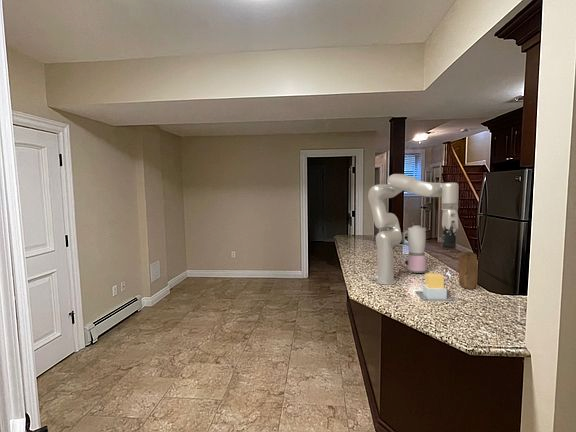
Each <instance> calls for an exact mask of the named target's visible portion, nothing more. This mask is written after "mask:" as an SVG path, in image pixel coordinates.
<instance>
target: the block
mask: <svg viewBox="0 0 576 432" xmlns="http://www.w3.org/2000/svg"><path fill="white" fill-rule="evenodd" d="M477 256H478V255H477V254H476V253H475V252H473V251H462V252H460V253H459V257H458V263H457V265H458V266H457V267H458V283H459V286H460V287H461V288H463V289H465V290H466V289H467V290H474V289H476V288H477V285H478V257H477Z"/></svg>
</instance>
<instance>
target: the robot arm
mask: <svg viewBox="0 0 576 432" xmlns="http://www.w3.org/2000/svg"><path fill="white" fill-rule="evenodd" d="M386 182H387V184H384V183H383V184H382V183H381V184H380V183H379V184H375V185H373V186H371V188H369V190H368V194H367V199H368V203H369V206H370V209H371V214H372V218H373V222H374V223H373V224H374V225H375V228H377V230H378V229H379V230H382V231H379V232H378V233H377V234H376V236H375V244H376V256H377V257H376V258H377V264H376V266H377V272H376V274H374V275H373V274H371V275H369V279H372V280H374V282H375V283H376V284H380V285H387V286H389V285H395V284H396V283H397V280H396V279H395V278H394V277H395V275H394V271H395V270H394V267H395V265H394V264H395V263H394V261H395V260H394V256H395V255H394V250H393V248H392V246H396V245H399V244H400V243H401V242H402V232H401V231H402V230H401V227H400V222H399V219H398V217H397V216H396V214H395V213H392V212H387V209H386V208H387V207H386V205H385V203H384V201H383V200H382V199H392V198H394V197H396V196H397V195H399V194H400V193H402V192H403V191H405V192H409V193H410V194H414V195H417V196H421V197H425V198H440V197H441V210H442V214H441V215H442V216H441V226H442V227H441V228H442V231H443V230H444V229H445V228H444V226H445V227H446V229H448V230H449V235H448V243H455V235H456V231H457V230H459V214H458V213H459V212H458V210H459V187H460V186H459V183H457V182H431V181H428V182H427V181H422V180H418V179H417V177H415V176H411V175H410V176H409V175H407V174H404V173H393V174H391V175H389V176H388V178H387V181H386ZM450 228H453V229H450ZM383 229H385V230H383Z"/></svg>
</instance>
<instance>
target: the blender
mask: <svg viewBox="0 0 576 432" xmlns="http://www.w3.org/2000/svg"><path fill="white" fill-rule="evenodd" d="M426 230H427V228H426V227H422V226H421V225H412V226H411V227H408V228H407V230H403V231H402V232H401V234H402V240H401V242H402V244H403V246H407V247H408V250H409V251H408V255H407V257H406V260H405V262H404V263H405V265H406V267H407V268H406V271H407V272H408V274H413V273H417V274H419V273H421V274H424V275H425V273H427V258H426V255H425V248H426V241H427V239H426V238H427V236H426V235H427V233H426ZM406 233H407V242H406V237H405V236H406Z"/></svg>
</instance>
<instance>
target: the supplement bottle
mask: <svg viewBox="0 0 576 432" xmlns="http://www.w3.org/2000/svg"><path fill="white" fill-rule="evenodd" d="M444 228H445V229H444V230H443V229H442V231H441V248H442V249H448V250H455V249H457V242H458V241H457V235H458V232H457V230H456V235H455V243H448V235H449V230H448V229H446V227H445V226H444ZM450 229H453V228H450Z"/></svg>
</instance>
